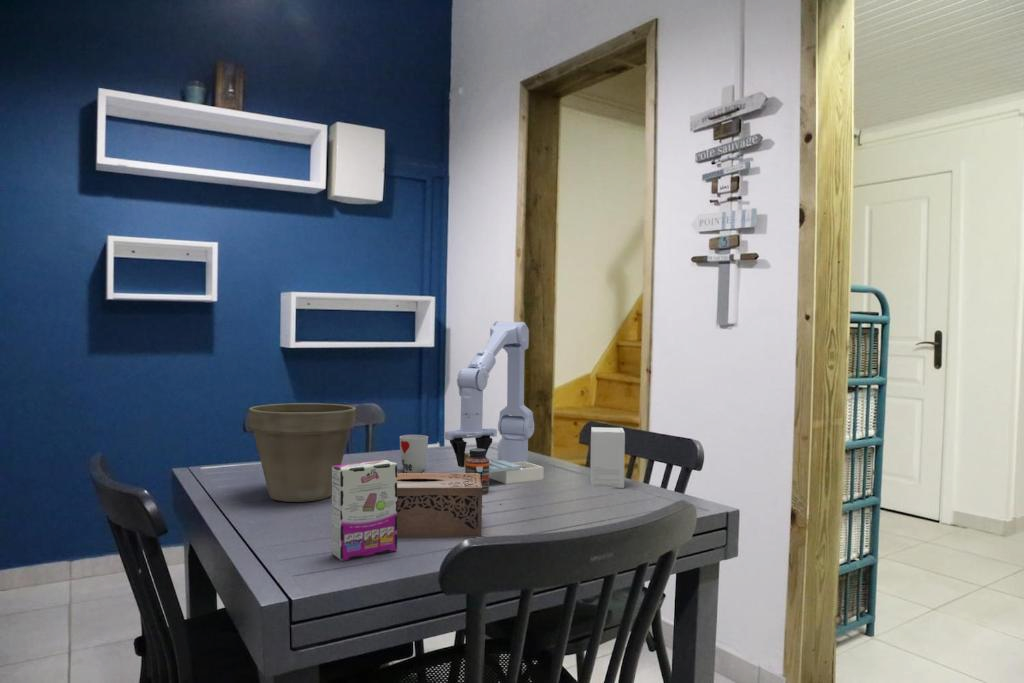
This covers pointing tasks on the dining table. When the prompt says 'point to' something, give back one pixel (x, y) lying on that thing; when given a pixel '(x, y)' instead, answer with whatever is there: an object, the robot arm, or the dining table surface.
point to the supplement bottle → (479, 466)
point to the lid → (497, 465)
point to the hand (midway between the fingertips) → (470, 465)
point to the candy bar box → (364, 509)
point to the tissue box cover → (439, 505)
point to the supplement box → (607, 456)
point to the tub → (519, 474)
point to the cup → (413, 452)
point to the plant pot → (301, 447)
